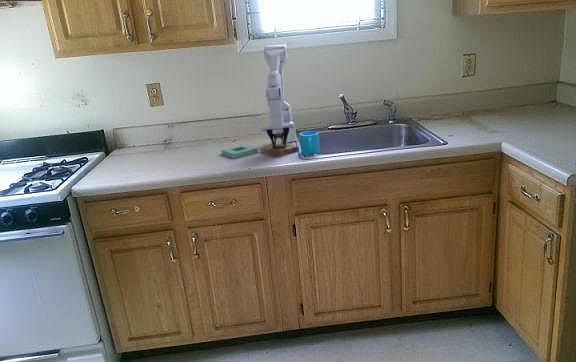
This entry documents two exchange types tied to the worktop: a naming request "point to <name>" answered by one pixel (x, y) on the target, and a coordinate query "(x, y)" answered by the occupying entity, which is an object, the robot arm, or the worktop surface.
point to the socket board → (239, 151)
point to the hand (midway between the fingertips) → (279, 145)
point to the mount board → (279, 150)
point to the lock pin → (278, 140)
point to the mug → (309, 142)
